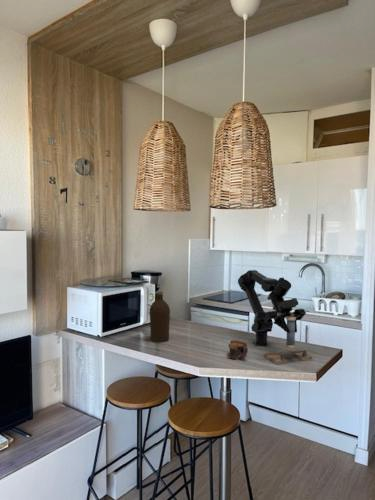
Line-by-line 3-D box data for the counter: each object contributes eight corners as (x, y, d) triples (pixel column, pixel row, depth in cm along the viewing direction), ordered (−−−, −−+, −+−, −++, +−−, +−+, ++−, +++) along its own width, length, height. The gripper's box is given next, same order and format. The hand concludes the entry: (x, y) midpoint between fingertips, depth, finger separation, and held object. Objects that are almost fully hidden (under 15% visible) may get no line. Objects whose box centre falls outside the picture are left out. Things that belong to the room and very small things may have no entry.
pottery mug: (221, 357, 165) (225, 339, 169) (237, 363, 169) (240, 345, 172) (238, 357, 155) (242, 338, 159) (254, 364, 159) (258, 345, 163)
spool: (283, 346, 161) (284, 316, 160) (290, 344, 163) (290, 315, 162) (290, 348, 157) (291, 318, 157) (297, 347, 159) (297, 317, 159)
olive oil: (157, 344, 184) (156, 294, 183) (145, 339, 192) (145, 291, 191) (174, 340, 190) (174, 292, 189) (162, 335, 199) (162, 289, 197)
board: (264, 357, 164) (264, 347, 164) (298, 352, 170) (298, 343, 169) (276, 364, 154) (276, 354, 154) (312, 359, 160) (312, 349, 160)
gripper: (267, 293, 160) (281, 324, 150) (303, 290, 166) (319, 320, 156) (258, 307, 167) (270, 338, 158) (293, 304, 173) (307, 334, 163)
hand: (292, 332), depth 158 cm, fingers closed on spool, 3 cm apart
